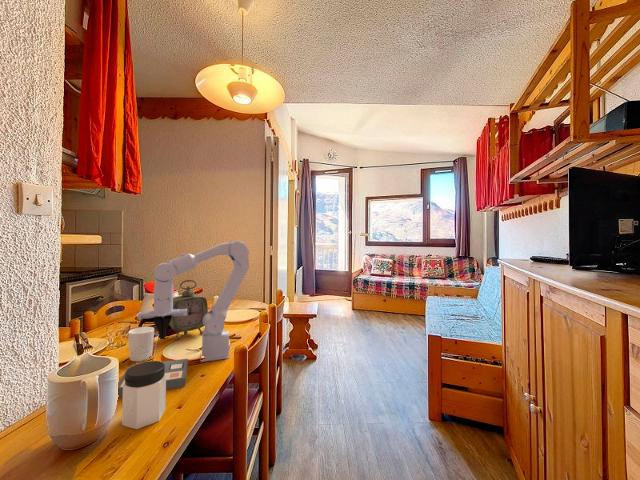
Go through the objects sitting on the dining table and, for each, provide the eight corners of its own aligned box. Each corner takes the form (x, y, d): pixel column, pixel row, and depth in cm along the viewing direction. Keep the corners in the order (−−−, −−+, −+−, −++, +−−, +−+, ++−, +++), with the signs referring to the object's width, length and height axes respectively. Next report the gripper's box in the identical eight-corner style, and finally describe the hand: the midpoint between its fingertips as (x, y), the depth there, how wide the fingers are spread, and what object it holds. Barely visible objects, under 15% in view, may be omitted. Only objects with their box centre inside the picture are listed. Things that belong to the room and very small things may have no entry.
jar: (113, 424, 63) (115, 372, 63) (145, 404, 71) (146, 358, 71) (142, 433, 61) (144, 379, 61) (172, 411, 69) (173, 363, 69)
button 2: (182, 370, 89) (182, 363, 89) (181, 374, 86) (181, 367, 86) (171, 371, 88) (171, 364, 88) (170, 376, 85) (170, 369, 85)
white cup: (141, 363, 94) (141, 334, 94) (122, 361, 96) (122, 332, 96) (158, 354, 102) (159, 327, 102) (141, 352, 104) (141, 325, 104)
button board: (187, 365, 93) (187, 357, 93) (184, 386, 80) (185, 377, 80) (128, 374, 86) (128, 365, 86) (114, 398, 74) (115, 388, 74)
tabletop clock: (172, 342, 114) (173, 282, 114) (166, 336, 120) (167, 280, 120) (207, 334, 124) (208, 279, 124) (199, 329, 130) (201, 277, 130)
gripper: (135, 302, 86) (134, 345, 86) (186, 299, 92) (185, 339, 92) (140, 297, 93) (139, 337, 93) (187, 295, 98) (186, 332, 98)
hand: (162, 338), depth 93 cm, fingers closed
